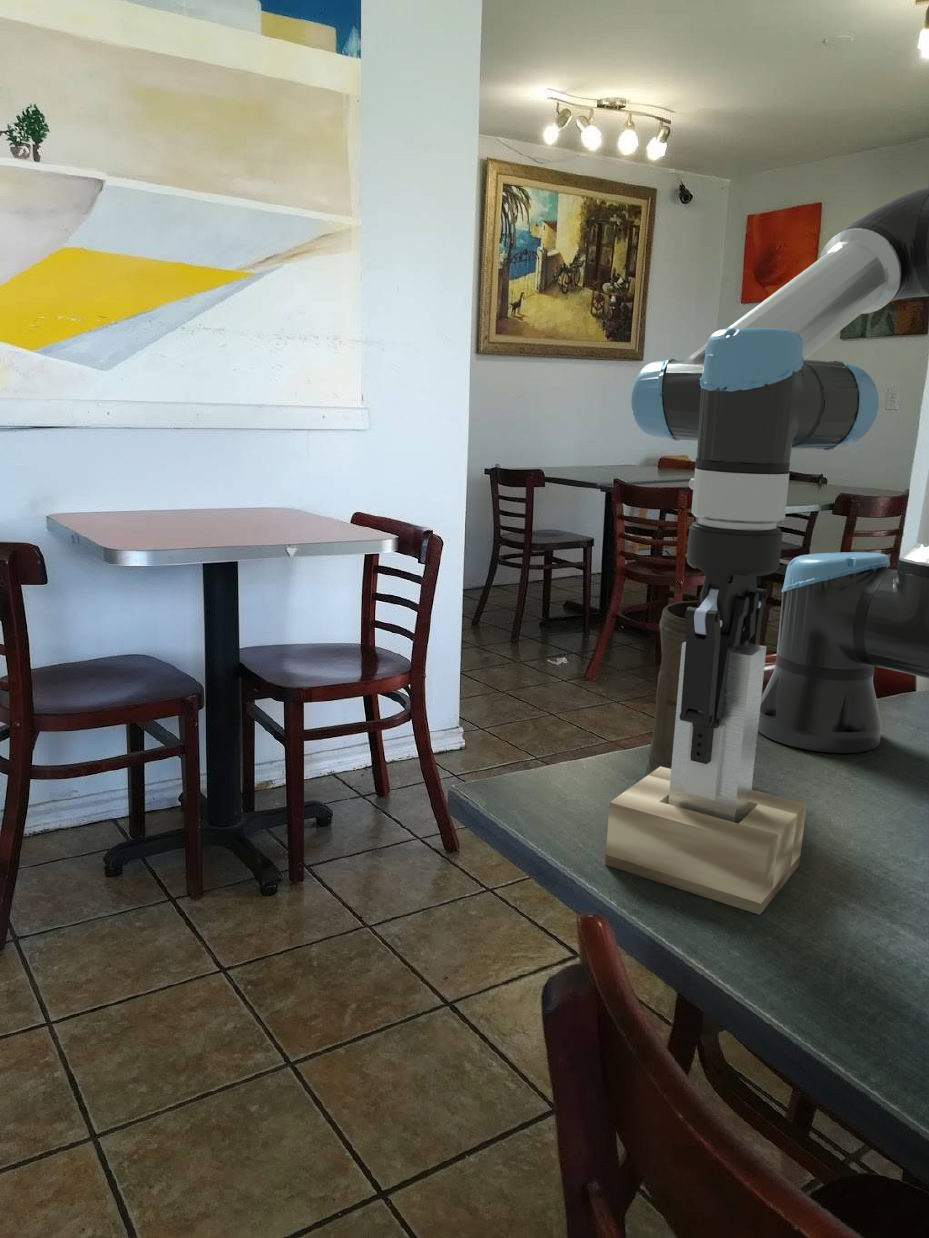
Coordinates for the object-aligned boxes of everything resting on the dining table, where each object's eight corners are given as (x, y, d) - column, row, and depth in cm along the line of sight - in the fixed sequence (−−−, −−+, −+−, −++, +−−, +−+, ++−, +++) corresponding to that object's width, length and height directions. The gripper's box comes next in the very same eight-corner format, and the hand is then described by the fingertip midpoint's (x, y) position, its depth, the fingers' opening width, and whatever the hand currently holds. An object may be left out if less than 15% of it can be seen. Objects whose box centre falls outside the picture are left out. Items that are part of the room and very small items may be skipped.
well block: (655, 823, 97) (660, 766, 95) (799, 865, 89) (806, 803, 88) (605, 864, 88) (609, 802, 86) (759, 914, 80) (767, 847, 79)
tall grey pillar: (682, 823, 91) (699, 634, 87) (746, 841, 88) (766, 646, 84) (665, 838, 88) (681, 643, 84) (730, 857, 85) (751, 655, 81)
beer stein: (750, 817, 99) (770, 624, 94) (642, 805, 101) (657, 615, 96) (739, 763, 114) (757, 594, 109) (645, 753, 116) (659, 587, 111)
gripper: (728, 510, 90) (705, 750, 96) (651, 527, 77) (630, 806, 82) (811, 518, 86) (782, 768, 92) (746, 537, 72) (717, 831, 78)
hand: (710, 785), depth 87 cm, fingers closed on tall grey pillar, 4 cm apart
